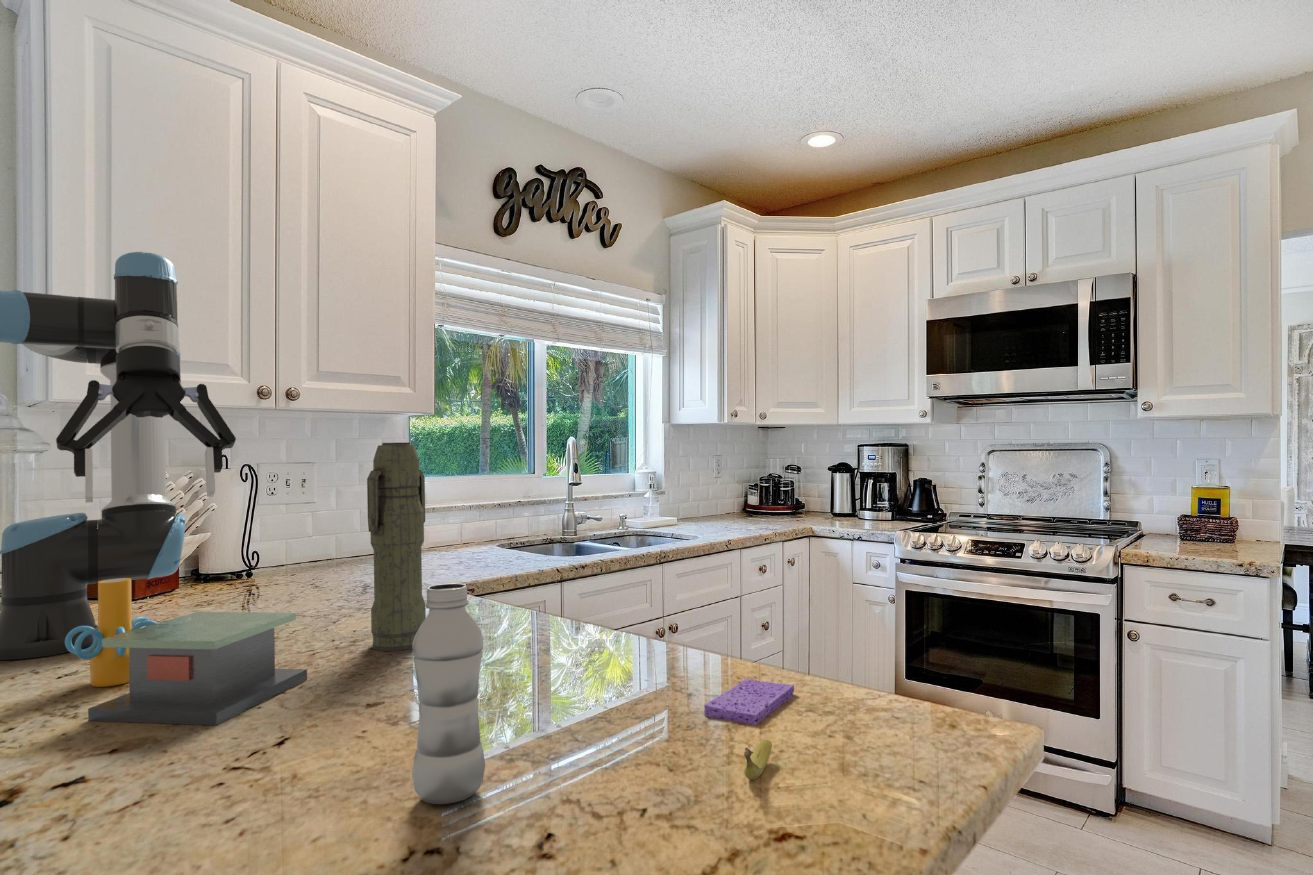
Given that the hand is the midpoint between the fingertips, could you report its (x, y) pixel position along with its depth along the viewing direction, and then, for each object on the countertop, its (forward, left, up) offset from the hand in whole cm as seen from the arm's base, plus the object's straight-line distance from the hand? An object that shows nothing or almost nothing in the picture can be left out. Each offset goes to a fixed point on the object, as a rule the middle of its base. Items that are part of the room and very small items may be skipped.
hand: (152, 496), depth 99 cm
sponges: (-6, +80, -29) cm, 85 cm away
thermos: (-31, +19, -28) cm, 46 cm away
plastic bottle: (+22, +52, -28) cm, 63 cm away
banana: (+14, +81, -28) cm, 87 cm away
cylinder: (-8, -14, -28) cm, 33 cm away
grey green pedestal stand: (-2, +6, -28) cm, 28 cm away
